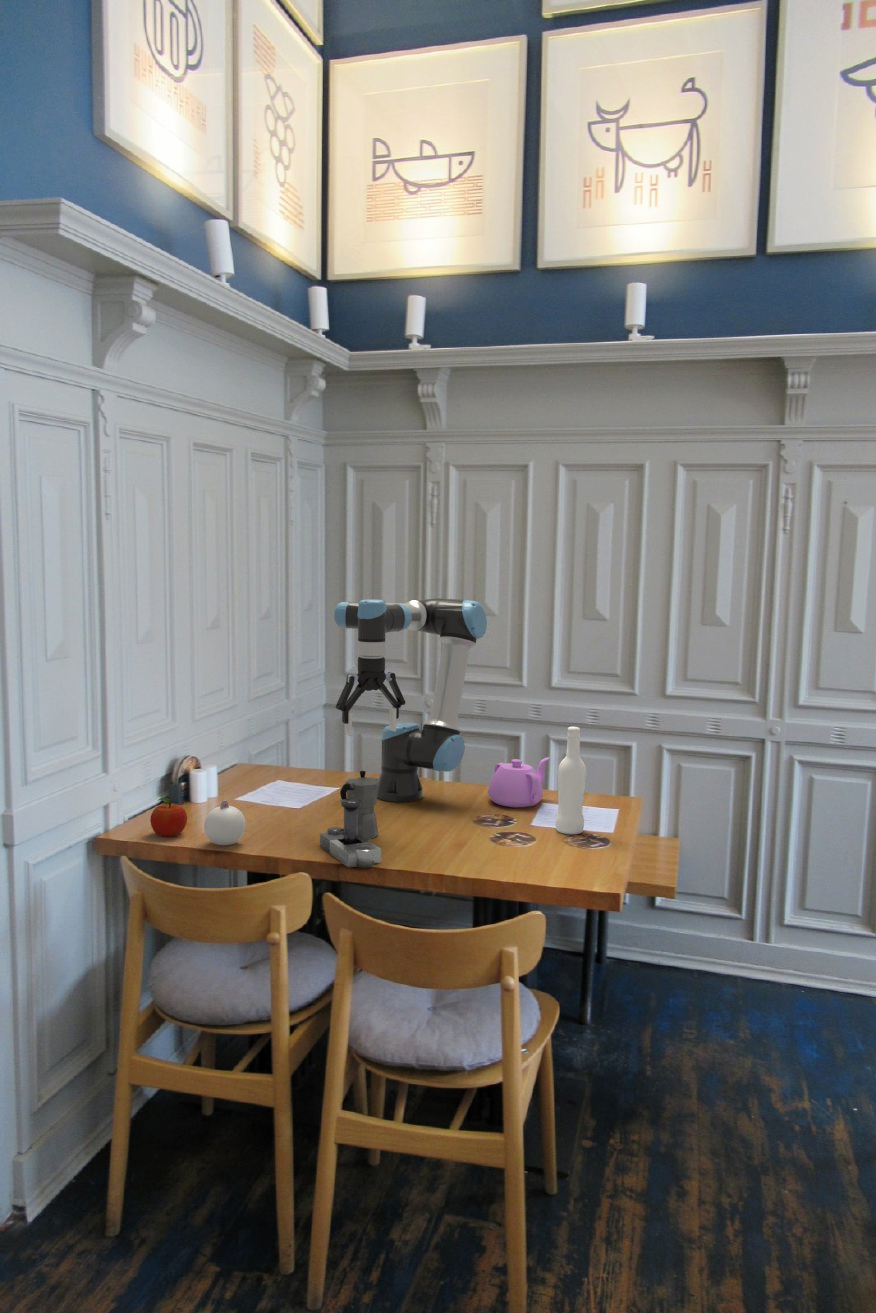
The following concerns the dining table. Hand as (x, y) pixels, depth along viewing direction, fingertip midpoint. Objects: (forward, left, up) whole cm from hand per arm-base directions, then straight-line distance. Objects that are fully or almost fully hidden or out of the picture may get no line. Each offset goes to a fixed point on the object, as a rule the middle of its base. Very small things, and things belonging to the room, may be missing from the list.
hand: (370, 732), depth 262 cm
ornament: (+40, -4, -28) cm, 49 cm away
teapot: (-57, -8, -28) cm, 64 cm away
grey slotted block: (+13, +17, -28) cm, 35 cm away
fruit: (+51, -18, -28) cm, 61 cm away
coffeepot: (+5, +3, -28) cm, 28 cm away
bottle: (-52, +24, -28) cm, 63 cm away
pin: (+13, +17, -28) cm, 35 cm away
